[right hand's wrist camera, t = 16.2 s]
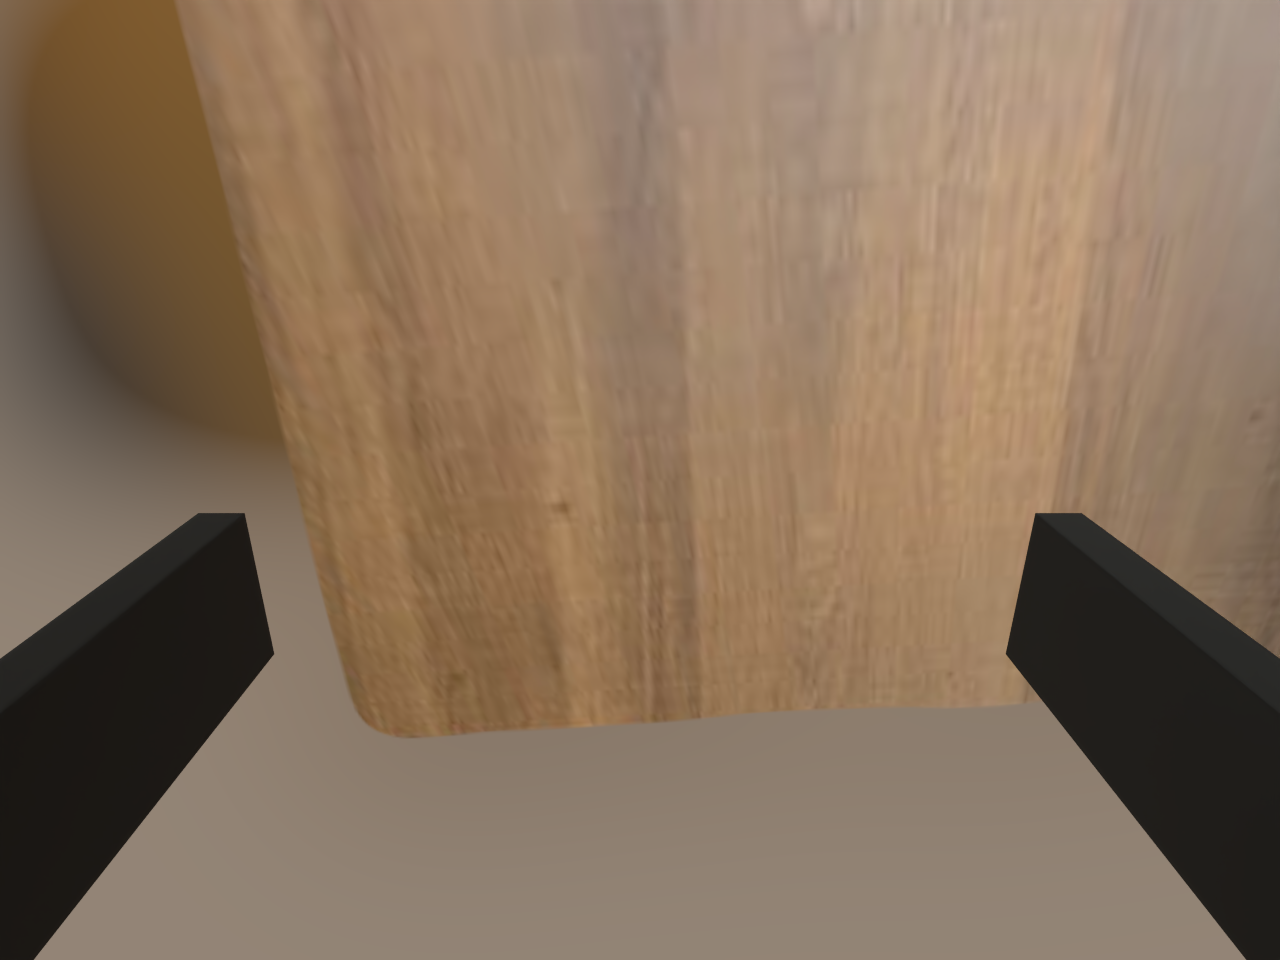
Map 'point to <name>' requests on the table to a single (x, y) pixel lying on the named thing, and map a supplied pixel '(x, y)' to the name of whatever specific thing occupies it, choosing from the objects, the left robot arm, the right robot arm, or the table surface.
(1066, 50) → the table surface
